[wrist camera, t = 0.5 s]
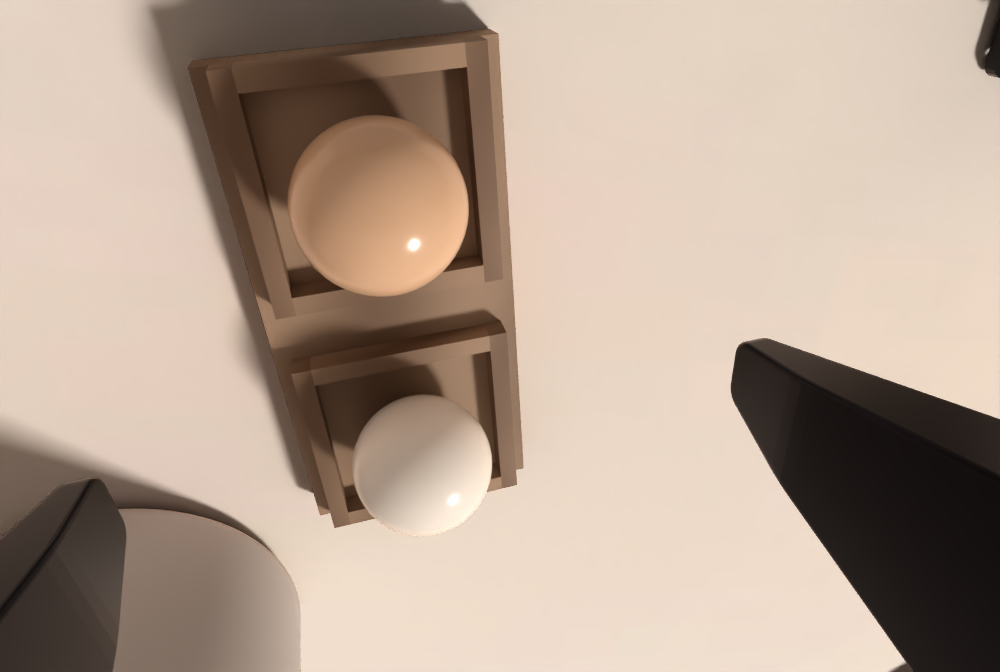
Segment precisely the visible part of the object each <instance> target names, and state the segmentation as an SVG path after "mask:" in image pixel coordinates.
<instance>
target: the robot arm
mask: <svg viewBox="0 0 1000 672" xmlns="http://www.w3.org/2000/svg"><path fill="white" fill-rule="evenodd" d="M985 71H986V73H987V74H988V75H989V76H994V77H998V78H1000V18H999V22H998V25H997V28H996V31H995V35H994V38H993V41H992V44H991V48H990V51H989V54H988V57H987V60H986V65H985ZM731 394H732V398H733V401H734V403H735V405H736V407H737V409H738V410H739V412H740V414H741V416H742V418H743V419H744V421H745V423H746V425H747V426H748V428H749V430H750V432H751V434H752V435H753V437H754V439H755V441H756V443H757V444H758V446H759V448H760V450H761V452H762V453H763V455H764V457H765V459H766V461H767V462H768V464H769V466H770V468H771V470H772V471H773V473H774V475H775V476H776V478H777V479H778V481H779V483H780V484H781V486H782V487H783V489H784V490H785V492H786V493H787V495H788V496H789V498H790V499H791V500H792V502H793V503H794V505H795V506H796V507H797V509H798V510H799V512H800V513H801V514H802V516H803V517H804V519H805V520H806V522H807V523H808V524H809V526H810V527H811V529H812V530H813V531H814V533H815V534H816V536H817V537H818V538H819V540H820V541H821V543H822V544H823V546H824V547H825V548H826V550H827V551H828V553H829V554H830V555H831V557H832V558H833V560H834V561H835V562H836V564H837V565H838V567H839V568H840V570H841V571H842V572H843V574H844V575H845V577H846V578H847V579H848V581H849V582H850V584H851V585H852V586H853V588H854V589H855V591H856V592H857V594H858V595H859V596H860V598H861V599H862V601H863V602H864V603H865V605H866V606H867V608H868V609H869V610H870V612H871V613H872V615H873V616H874V618H875V619H876V620H877V622H878V623H879V625H880V626H881V627H882V629H883V630H884V632H885V633H886V634H887V636H888V637H889V639H890V640H891V642H892V643H893V644H894V646H895V647H896V649H897V650H898V651H899V653H900V654H901V656H902V657H903V658H904V660H905V661H906V663H907V664H908V665H909V667H910V668H911V670H912V671H913V672H1000V419H998V418H995V417H992V416H989V415H986V414H983V413H981V412H978V411H975V410H972V409H969V408H966V407H963V406H960V405H958V404H955V403H952V402H949V401H946V400H943V399H940V398H937V397H935V396H932V395H929V394H926V393H923V392H920V391H917V390H914V389H912V388H909V387H906V386H903V385H900V384H897V383H894V382H891V381H889V380H886V379H883V378H880V377H877V376H874V375H871V374H868V373H866V372H863V371H860V370H857V369H854V368H851V367H848V366H846V365H843V364H840V363H837V362H834V361H831V360H828V359H825V358H823V357H820V356H817V355H814V354H811V353H808V352H805V351H802V350H800V349H797V348H794V347H791V346H788V345H785V344H782V343H780V342H777V341H774V340H771V339H768V338H761V339H756V340H751V341H746V342H743V343H741V344H740V345H739V346H738V348H737V350H736V354H735V361H734V368H733V374H732V381H731ZM126 541H127V533H126V526H125V523H124V520H123V518H122V516H121V514H120V512H119V510H118V509H117V507H116V505H115V503H114V501H113V499H112V497H111V495H110V493H109V492H108V490H107V488H106V486H105V484H104V483H103V482H102V481H101V480H100V479H98V478H95V477H90V478H86V479H81V480H76V481H71V482H67V483H64V484H62V485H60V486H59V487H57V488H56V489H55V490H54V491H53V492H52V493H51V494H50V495H48V496H47V497H46V498H45V499H44V500H43V501H42V502H41V503H40V504H38V505H37V506H36V507H35V508H34V509H33V510H32V511H31V512H30V513H29V514H27V515H26V516H25V517H24V518H23V519H22V520H21V521H20V522H19V523H17V524H16V525H15V526H14V527H13V528H12V529H11V530H10V531H9V532H8V533H6V534H5V535H4V536H3V537H2V538H1V539H0V672H113V669H114V663H115V658H116V652H117V646H118V637H119V627H120V615H121V602H122V590H123V578H124V565H125V553H126Z"/></svg>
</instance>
